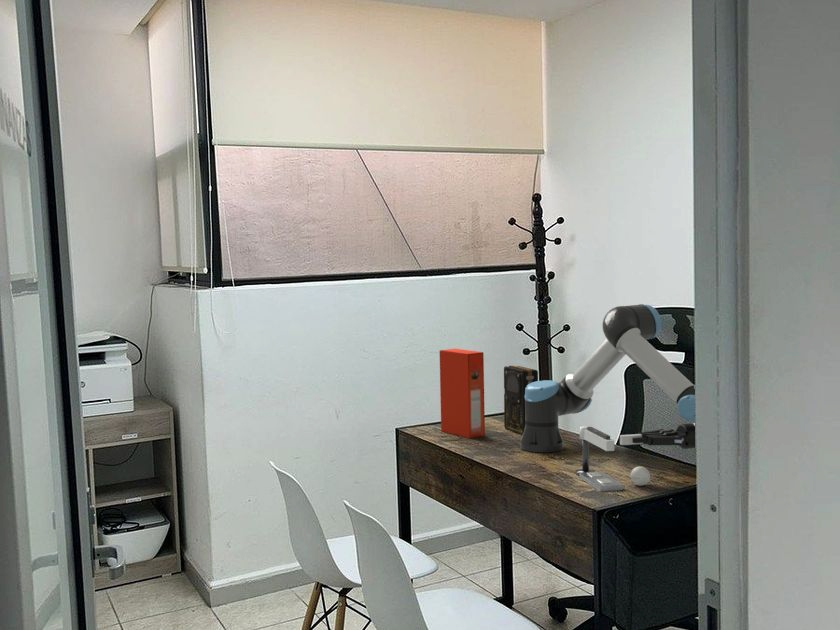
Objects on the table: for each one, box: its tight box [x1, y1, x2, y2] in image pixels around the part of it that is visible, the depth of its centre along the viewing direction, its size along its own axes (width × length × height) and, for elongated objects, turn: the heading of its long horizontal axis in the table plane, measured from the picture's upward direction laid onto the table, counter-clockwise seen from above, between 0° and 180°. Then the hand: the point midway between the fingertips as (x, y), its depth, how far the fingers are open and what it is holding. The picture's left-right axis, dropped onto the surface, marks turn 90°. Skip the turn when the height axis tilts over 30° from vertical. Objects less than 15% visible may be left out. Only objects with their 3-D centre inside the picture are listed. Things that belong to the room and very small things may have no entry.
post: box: [575, 439, 596, 477], centre depth 269 cm, size 6×6×11 cm
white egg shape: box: [629, 466, 651, 487], centre depth 254 cm, size 8×6×6 cm
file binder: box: [439, 348, 486, 439], centre depth 332 cm, size 8×17×32 cm, turn 36°
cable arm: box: [579, 425, 615, 452], centre depth 260 cm, size 21×4×4 cm, turn 11°
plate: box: [578, 470, 624, 492], centre depth 258 cm, size 16×7×2 cm, turn 11°
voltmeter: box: [503, 365, 539, 436], centre depth 335 cm, size 16×9×25 cm, turn 23°
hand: (621, 440), depth 257 cm, fingers closed
